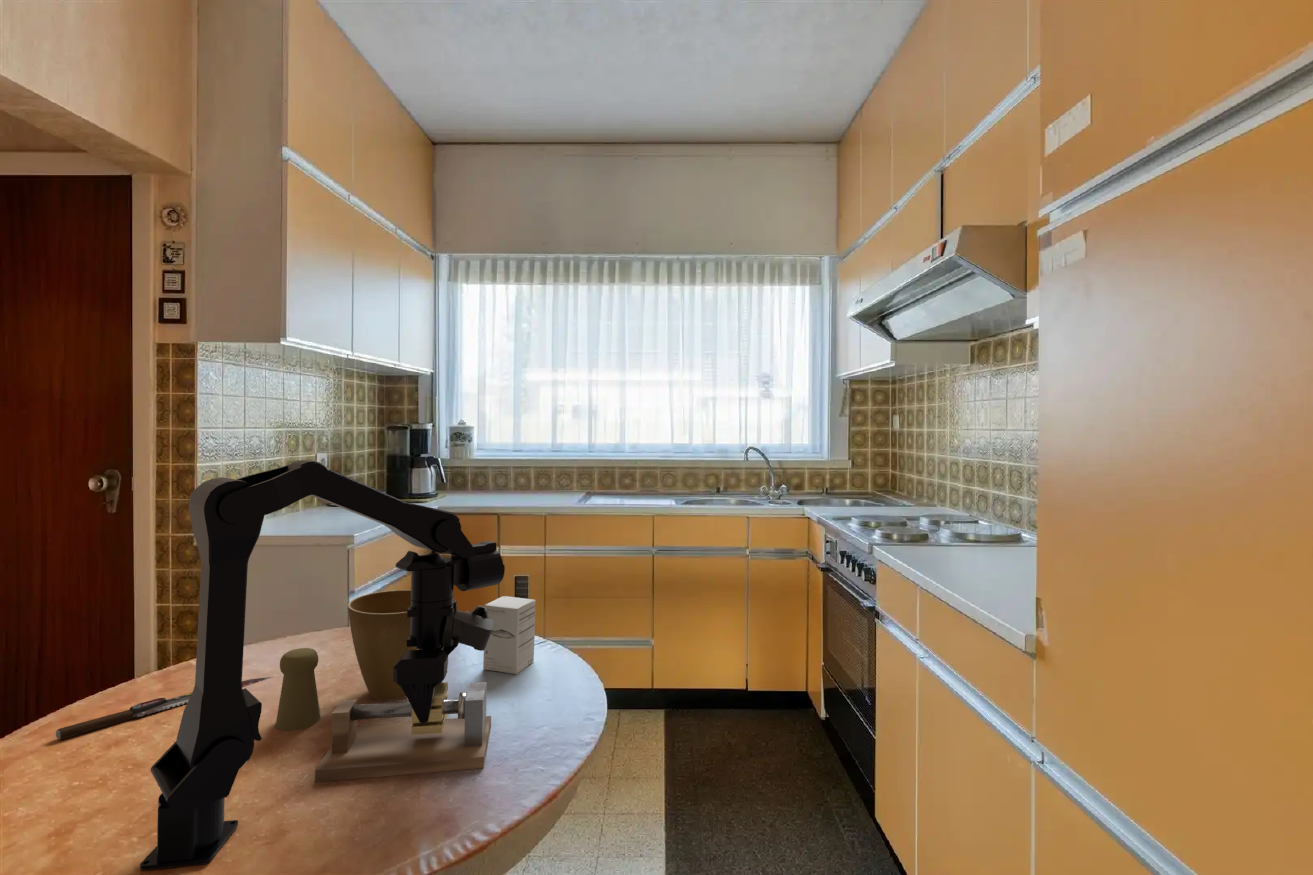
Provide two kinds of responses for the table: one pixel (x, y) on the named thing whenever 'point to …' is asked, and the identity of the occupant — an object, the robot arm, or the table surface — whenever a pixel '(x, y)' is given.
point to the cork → (298, 690)
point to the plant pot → (380, 638)
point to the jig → (395, 748)
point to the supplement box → (510, 634)
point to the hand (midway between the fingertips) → (430, 706)
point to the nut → (432, 714)
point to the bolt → (465, 706)
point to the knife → (131, 713)
